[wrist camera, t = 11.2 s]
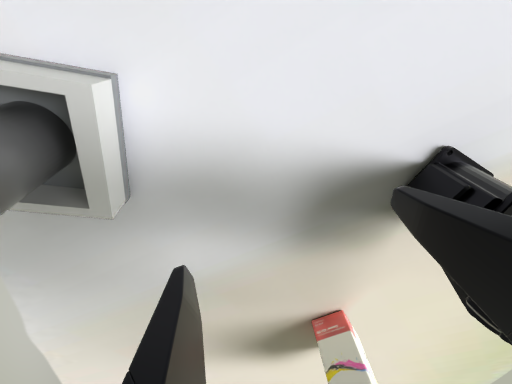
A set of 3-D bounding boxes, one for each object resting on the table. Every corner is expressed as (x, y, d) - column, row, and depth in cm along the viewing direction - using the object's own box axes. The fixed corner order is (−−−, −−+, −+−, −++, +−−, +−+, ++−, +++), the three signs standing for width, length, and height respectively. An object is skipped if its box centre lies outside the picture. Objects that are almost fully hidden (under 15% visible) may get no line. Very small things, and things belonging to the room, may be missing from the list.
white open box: (117, 73, 16) (90, 80, 13) (130, 196, 21) (113, 221, 18) (-77, 39, 15) (-156, 39, 12) (-13, 181, 20) (-57, 206, 17)
